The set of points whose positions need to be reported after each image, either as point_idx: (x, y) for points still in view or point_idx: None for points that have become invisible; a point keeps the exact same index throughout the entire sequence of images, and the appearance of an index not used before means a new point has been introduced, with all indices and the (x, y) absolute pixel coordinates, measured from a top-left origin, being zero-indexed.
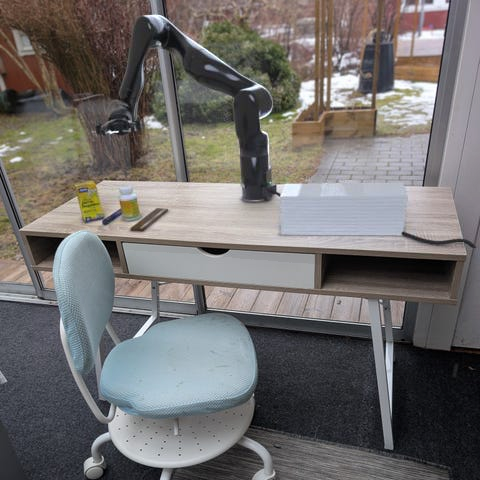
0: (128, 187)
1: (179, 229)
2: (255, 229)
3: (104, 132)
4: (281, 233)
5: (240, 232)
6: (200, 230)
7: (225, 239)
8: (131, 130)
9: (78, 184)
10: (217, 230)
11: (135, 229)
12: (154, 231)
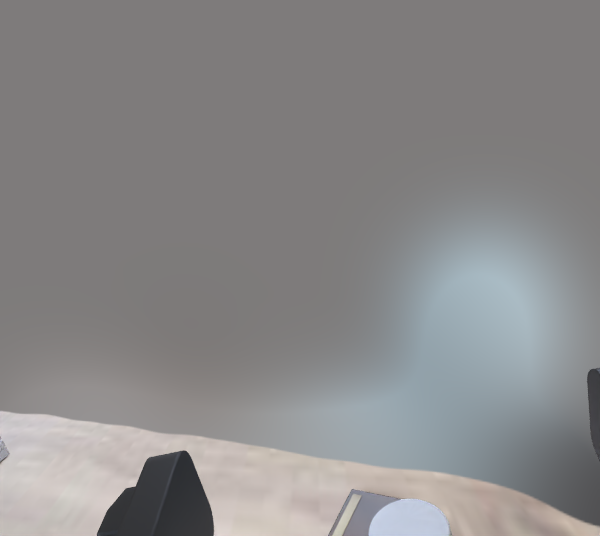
0: (389, 528)
1: (225, 503)
2: (31, 486)
3: (596, 409)
4: (6, 451)
5: (76, 472)
6: None
7: (131, 440)
8: (197, 495)
9: None
10: (122, 487)
11: (380, 496)
12: (311, 495)
